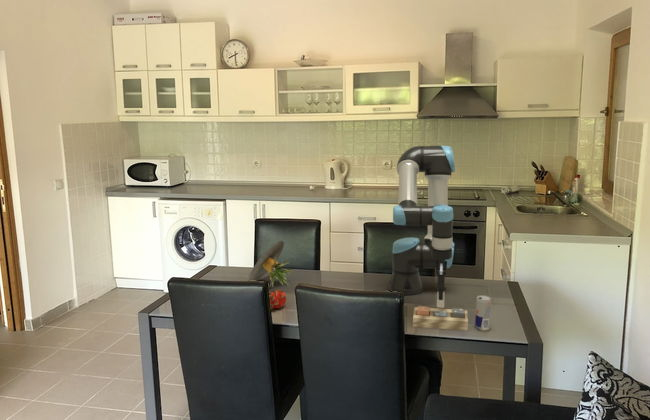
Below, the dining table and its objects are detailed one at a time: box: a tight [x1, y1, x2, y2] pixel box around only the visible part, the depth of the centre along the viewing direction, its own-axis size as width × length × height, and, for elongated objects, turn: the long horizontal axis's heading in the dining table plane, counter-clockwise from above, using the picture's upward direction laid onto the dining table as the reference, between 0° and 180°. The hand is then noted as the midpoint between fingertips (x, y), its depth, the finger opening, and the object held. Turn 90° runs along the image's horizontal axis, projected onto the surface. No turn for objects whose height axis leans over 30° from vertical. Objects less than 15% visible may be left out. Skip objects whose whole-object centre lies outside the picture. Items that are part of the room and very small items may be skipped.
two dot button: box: [451, 307, 465, 318], centre depth 204 cm, size 4×4×3 cm
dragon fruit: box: [268, 289, 288, 310], centre depth 225 cm, size 8×8×12 cm
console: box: [412, 306, 469, 331], centre depth 206 cm, size 20×11×4 cm, turn 77°
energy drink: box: [474, 294, 492, 332], centre depth 199 cm, size 5×5×12 cm
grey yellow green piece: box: [247, 240, 295, 289], centre depth 252 cm, size 25×18×25 cm
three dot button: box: [434, 311, 447, 317], centre depth 206 cm, size 4×4×3 cm
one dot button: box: [417, 305, 430, 316], centre depth 207 cm, size 4×4×3 cm
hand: (440, 306), depth 205 cm, fingers closed
